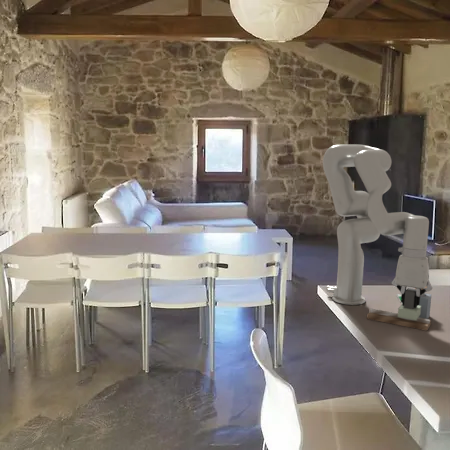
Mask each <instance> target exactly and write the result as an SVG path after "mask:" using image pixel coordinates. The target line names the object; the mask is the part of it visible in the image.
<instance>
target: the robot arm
mask: <svg viewBox="0 0 450 450" xmlns="http://www.w3.org/2000/svg"><path fill="white" fill-rule="evenodd" d="M322 158H323V159H322V168H323V173H324V175H325V177H326V179H327V182H328V185H329V190H330V194H331V197H332V202H333V206H334V210H335V212H336V214H337V215H338V216H340V217H355V216H356V217H357V218H350V219H345V220H343V221H341V222H340V223H339V224H338V226H337V228H336V237H337V244H338V246H337V247H338V254H337V255H338V256H337V259H338V260H337V275H336V276H337V278H336V285H335V286H332V285H327V286H326V291H327V293H332V295H331V299H332V301H334V302H335V303H338V304H342V305H349V306H356V305H357V306H358V305H362V304H365V303H366V297H365V296H364V295H362V294H363V293H362V292H363V281H364V280H363V279H364V263H365V256H364V255H365V254H364V251H363V249H362V246H361V244H365V243H366V244H369V243H372V242H375V241H377V240H378V239H379V238H380V235H382V236H394V235H403V239H402V240H403V241H402V246H401V247H398V249H397V252H400V253H401V254H400V255H399V257H398V260H397V264H396V265H397V266H396V271H395V277H394V278H393V280H392V281H391V285H393V286H394V287H396V289H397V290H398V291H399V292H400V294H402V295H401V302H403V303H402V304H401V305H402V306H404V301H405V291H406V290H407V289H408V288H412V289H415V288H416V295H415V297H414V308H416V307H417V306H418V305H419V304H420V295H422V294H423V293H426V292H430V291H432V290H433V287H432V284H431V282H430V264H429V262H430V261H429V258H428V257H427V250H428V238H429V227H430V221H429V218H428V217H426V216H423V215H415V214H413V213H409V212H407V211H406V212H405V211H400V212H399V211H397V212H396V211H395V212H388V211H387V208H386V207H385V205H384V202H383V195H384V194H385V193H386V192H388V191H389V190H390V189H391V187H392V182H391V179H390V177H389V176H388V174H387V172H388V171H389V170H390V168H391V166H392V158H391V154H389V153H388V151H386V150H384V149H380V148H377V147H372V146H369V145H367V144H366V145H365V144H347V143H345V144H343V143H342V144H335V145H332V146H329V148H327V149H326V151H325V153H324V155H323V156H322ZM351 167H352V168H354V167H355V169H356V172H357V173H358V175H359V178H360V179H361V182H363V185H364V187H365V189H366V191H365V190H364V191H363V190H355V188H354V185H353V181H352V177H351V176H350V175H349V173H348V172H347V171H346V169H344V168H351ZM426 286H427V287H426ZM425 287H426V288H425ZM401 302H400V303H401Z"/></svg>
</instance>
